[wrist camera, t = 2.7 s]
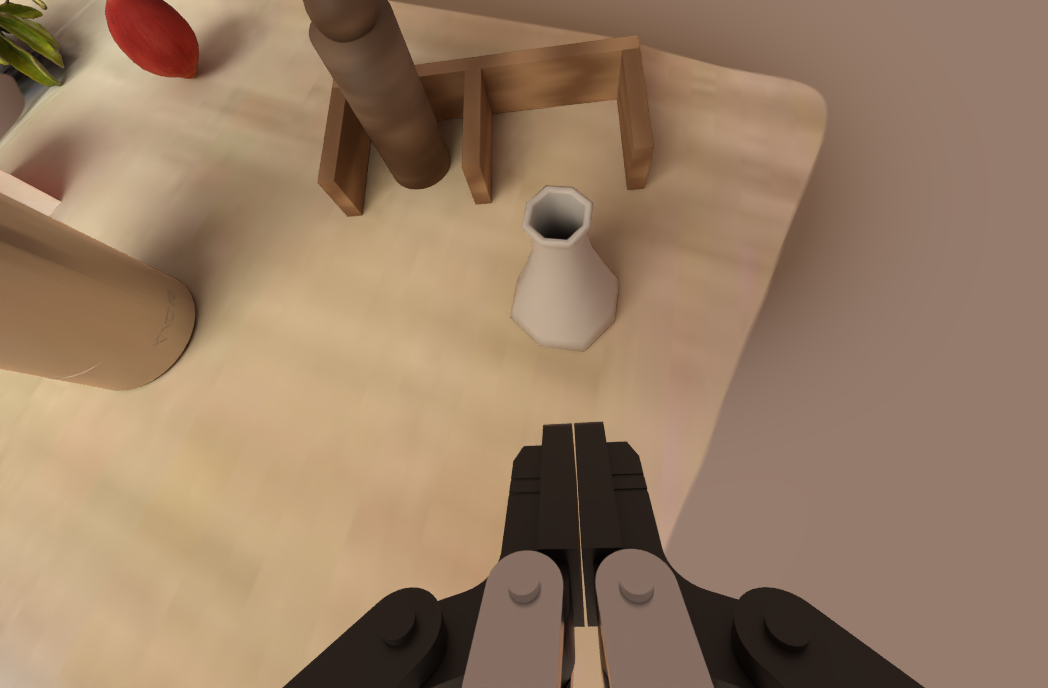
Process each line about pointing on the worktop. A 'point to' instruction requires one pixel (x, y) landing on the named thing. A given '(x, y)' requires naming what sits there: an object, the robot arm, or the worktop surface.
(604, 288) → the flask
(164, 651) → the worktop surface
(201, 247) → the worktop surface
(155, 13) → the onion
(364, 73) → the pepper mill
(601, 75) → the rack
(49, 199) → the red patterned cube
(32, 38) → the green leafy plant
